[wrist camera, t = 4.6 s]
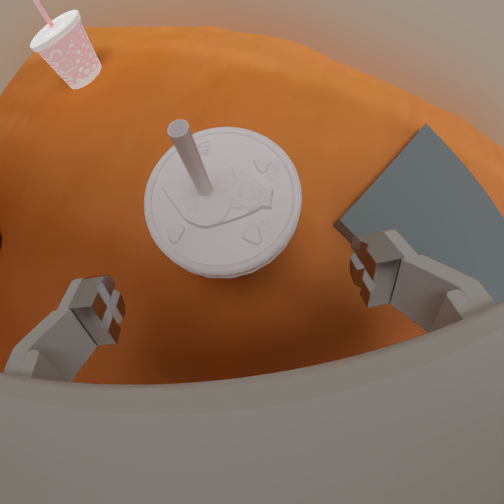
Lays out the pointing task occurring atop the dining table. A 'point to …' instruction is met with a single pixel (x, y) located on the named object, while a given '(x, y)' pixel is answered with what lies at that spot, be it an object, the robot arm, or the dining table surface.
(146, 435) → the robot arm
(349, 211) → the slate board
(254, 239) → the smoothie
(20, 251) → the dining table surface
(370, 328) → the dining table surface
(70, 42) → the beverage cup
